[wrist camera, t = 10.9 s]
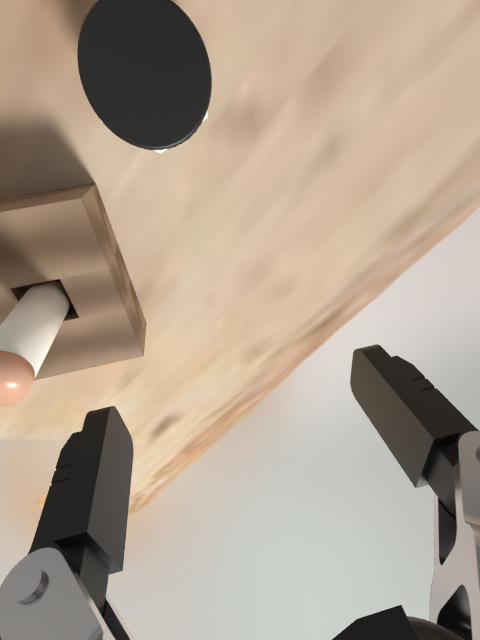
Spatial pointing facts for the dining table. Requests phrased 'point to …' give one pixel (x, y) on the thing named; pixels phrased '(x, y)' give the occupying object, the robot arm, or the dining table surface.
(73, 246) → the socket block
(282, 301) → the dining table surface
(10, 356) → the plug
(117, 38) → the jar
